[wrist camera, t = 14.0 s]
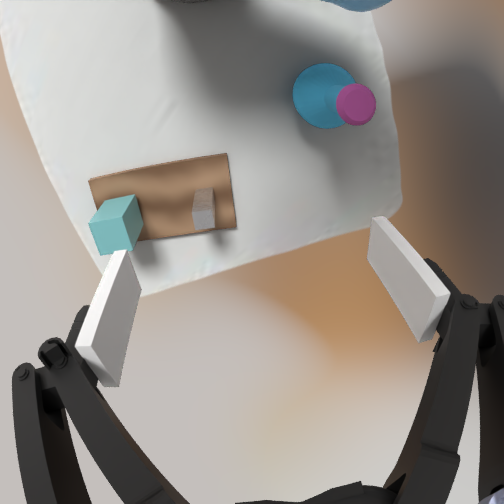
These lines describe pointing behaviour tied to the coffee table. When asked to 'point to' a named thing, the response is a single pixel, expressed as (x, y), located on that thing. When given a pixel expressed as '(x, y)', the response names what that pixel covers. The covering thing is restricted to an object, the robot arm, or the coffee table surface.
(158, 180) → the board
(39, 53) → the coffee table surface
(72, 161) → the coffee table surface
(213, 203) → the post
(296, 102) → the perfume bottle
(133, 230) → the teal rectangular prism
